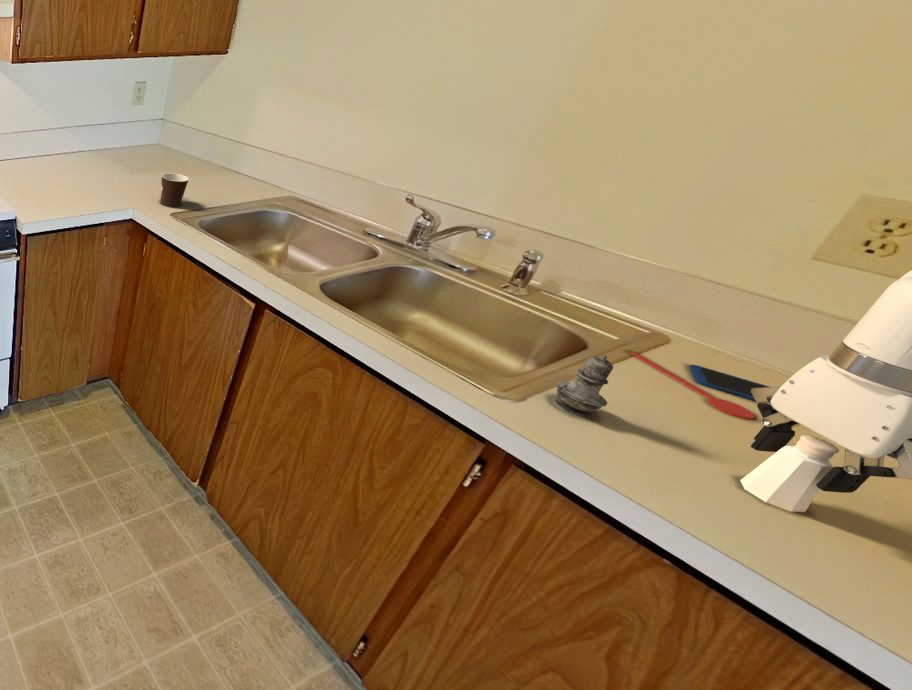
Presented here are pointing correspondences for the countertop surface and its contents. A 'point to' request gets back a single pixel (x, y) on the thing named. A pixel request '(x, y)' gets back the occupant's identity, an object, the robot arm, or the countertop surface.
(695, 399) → the countertop surface
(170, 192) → the coffee mug
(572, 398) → the grey chess piece
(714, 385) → the cell phone
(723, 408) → the spoon
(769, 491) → the pepper shaker
